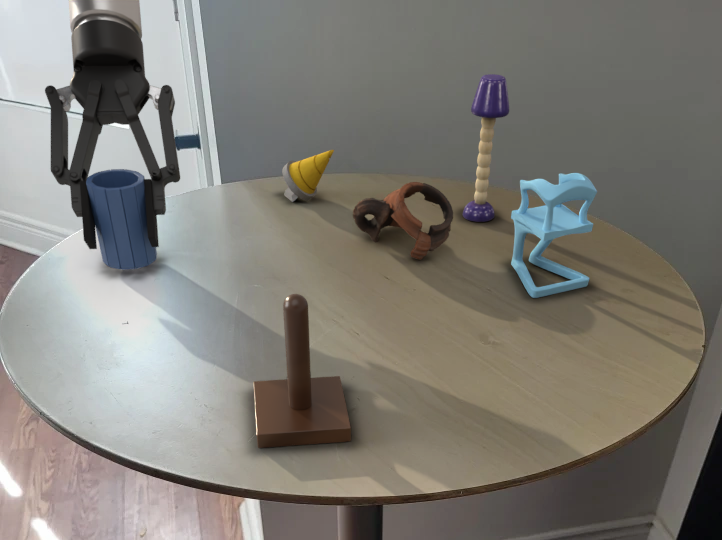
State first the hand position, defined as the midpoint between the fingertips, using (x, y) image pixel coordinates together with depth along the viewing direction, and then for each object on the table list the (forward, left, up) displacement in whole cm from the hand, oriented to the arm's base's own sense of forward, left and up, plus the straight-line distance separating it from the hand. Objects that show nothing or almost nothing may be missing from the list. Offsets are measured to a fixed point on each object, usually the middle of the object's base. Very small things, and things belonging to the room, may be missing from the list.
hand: (122, 243), depth 85 cm
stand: (+17, -28, -4) cm, 33 cm away
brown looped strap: (+32, +6, -4) cm, 33 cm away
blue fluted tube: (0, +4, -3) cm, 5 cm away
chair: (+47, -4, -4) cm, 48 cm away
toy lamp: (+44, +14, -4) cm, 46 cm away
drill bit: (+22, +22, -4) cm, 31 cm away
